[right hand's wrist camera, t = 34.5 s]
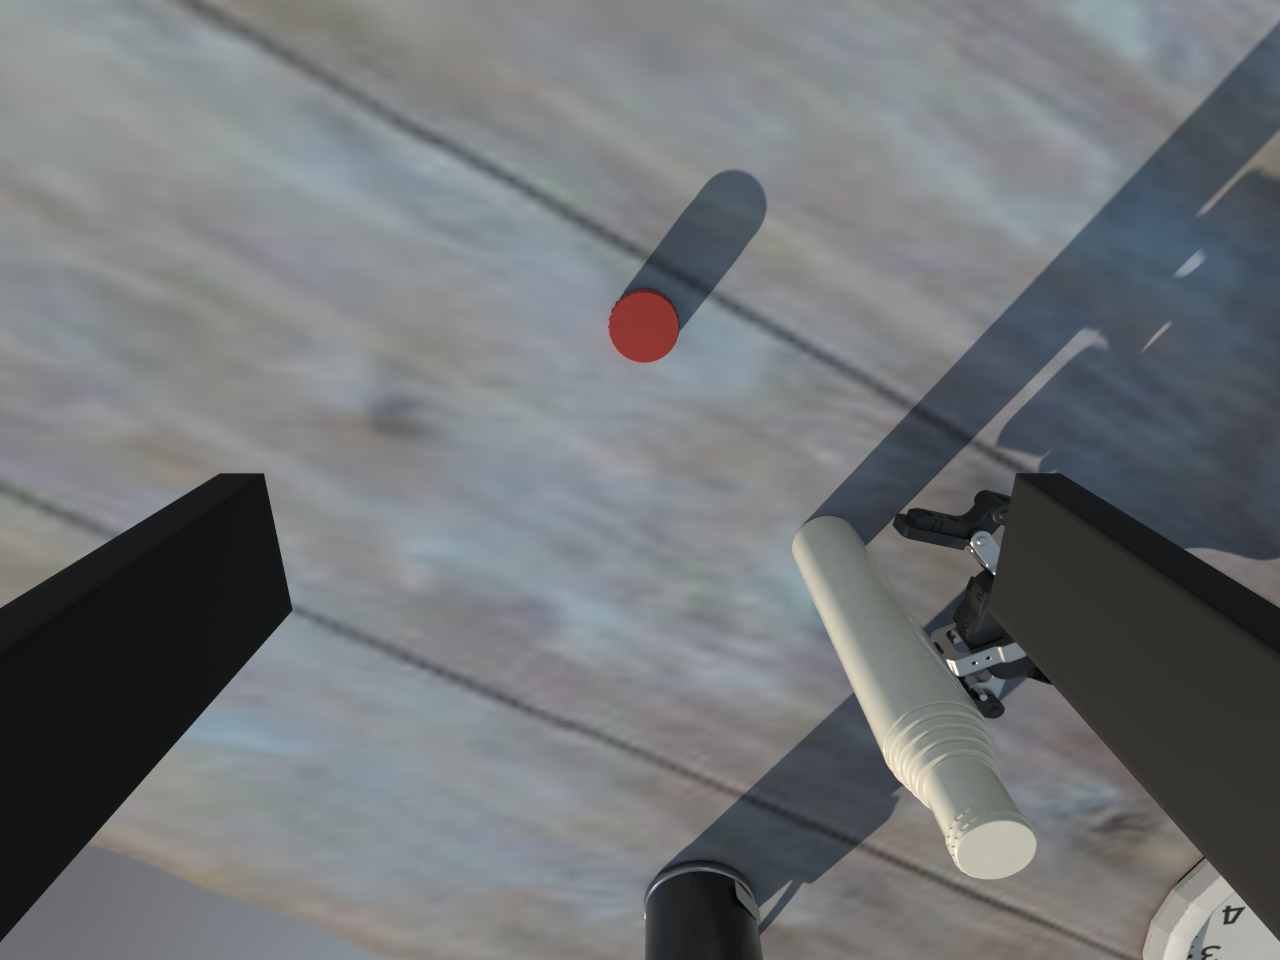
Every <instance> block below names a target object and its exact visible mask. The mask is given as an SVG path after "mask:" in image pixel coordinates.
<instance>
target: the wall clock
mask: <svg viewBox="0 0 1280 960" xmlns="http://www.w3.org/2000/svg"><path fill="white" fill-rule="evenodd" d="M1143 960H1280V942H1279V941H1278V940H1277V938H1276V937H1275V936H1274V935H1273V934H1272V933H1271V932H1270V930H1269V929H1268V928H1267V927H1266V926H1265V925H1264V924H1263V922H1262V921H1261V920H1260V919H1259V918H1258V917H1257V916H1256V915H1255V913H1254V912H1253V911H1252V910H1251V909H1250V908H1249V907H1248V905H1247V904H1246V903H1245V902H1244V901H1243V900H1242V899H1241V897H1240V896H1239V895H1238V894H1237V893H1236V892H1235V891H1234V890H1233V888H1232V887H1231V886H1230V885H1229V884H1228V883H1227V882H1226V880H1225V879H1224V878H1223V877H1222V876H1221V875H1220V874H1219V873H1218V871H1217V870H1216V869H1215V868H1214V867H1213V866H1212V865H1211V863H1210V862H1209V861H1208V860H1207V859H1206V858H1205V859H1204V860H1203V861H1201V862H1200V863H1199V864H1198V865H1197V866H1196V867H1195V868H1194V869H1193V870H1192V871H1191V872H1190V873H1189V874H1188V875H1187V876H1185V877H1184V878H1183V879H1182V880H1181V881H1180V882H1179V883H1178V884H1177V885H1176V886H1175V887H1174V888H1173V889H1172V890H1171V892H1170V893H1169V895H1168V896H1167V898H1166V899H1165V901H1164V902H1163V904H1162V906H1161V907H1160V909H1159V910H1158V912H1157V913H1156V915H1155V916H1154V918H1153V919H1152V921H1151V924H1150V928H1149V931H1148V935H1147V938H1146V942H1145V945H1144V949H1143Z"/></svg>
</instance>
